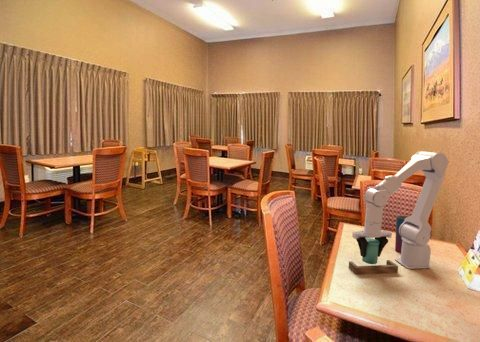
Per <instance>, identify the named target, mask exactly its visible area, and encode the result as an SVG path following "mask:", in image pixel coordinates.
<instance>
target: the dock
mask: <svg viewBox="0 0 480 342" xmlns="http://www.w3.org/2000/svg"><path fill="white" fill-rule="evenodd" d="M385 263H386V264H379V265H378V264H372V265H357V264H356V263H355V262H354V261H353V260H352V261H348V269H349V270H350V271H351V272H352V273H354V275H369V274H370V275H371V274H372V275H373V274H391V273H392V274H395V273H397V274H398V272H399V265H398V264H396V263H394V262H393V261H392V260H390V259H389V260H388V259H387V260H386V262H385Z"/></svg>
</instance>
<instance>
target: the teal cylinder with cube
mask: <svg viewBox="0 0 480 342" xmlns="http://www.w3.org/2000/svg"><path fill="white" fill-rule="evenodd" d="M365 239H366V240H367V241H368V242H369V243H368V245H367V248H366V256H365V257H362V256H361V257H362V259H361V261H362V262H364V263H365V264H369V265H378V258H379V257H378V249H379V244H380V242H379V241H378V240H376V239H375V238H365Z"/></svg>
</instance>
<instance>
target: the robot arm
mask: <svg viewBox="0 0 480 342" xmlns="http://www.w3.org/2000/svg"><path fill="white" fill-rule="evenodd" d="M410 159H411V160H409V161H408V162H407V163H406V164H405V165H404V166H403V167H402V168H401V169H400V170H399V171H397V172H396V173H395V174H394V175H386V176H385V177H384V179H383V180H382V181H380V182H379V183H378V184H376V185H375V186H374V187H370V188H369V189H367V190H366V191H365V193H364V194H363V196H362V197H363V200H364V202H365V218H364V228H363V230H359V231H353V232H352V236H351V237H352V238H353V239H355V240H356V242H357V245H358V247H359V253H360V257H365V256H366V248H367V245H368V243H369V242H368V241H367V240H366V239H365V238H372V239H376V240H378V241H379V242H380V244H379V249H378V258H379V257H381V255H382V252H383V250H384V248H385V247H386V245H388V243H389V239H391V238H393V237H392V236H393V232H391V231H389V230H382V226H383V225H382V224H383V216H384V215H383V214H384V213H383V212H384V206H386V205H387V204H388V201H389V199H390V198H391V196H392V195H393V194H395V193H396V192H397V191H398V190H400V189H401V188H402V185H403V184H402V183H403V182H404V181H406V180H407V179H408V178H410V177H412V176H413V175H415V174H416V173H417V172H418V171H420V172H422V173H423V174H424V177H425V179H424V182H423V185H422V188H421V190H420V192H419V195H418V197H417V201H416V203H415V205H414V209H413V211H412V212H411V215H409V217H407V218H405V220H404V222H403V223H402V224H401V226H400V227H399V234H400V235H401V236H402V238H401V239H402V249H401V253H400V258H398V257H397V258H395V259H394V260H395V261H396V262H398V263H400V264H401V265H402V266H404V267H405V268H407V269H408V270H409V269H410V270H412V269H413V270H414V269H415V270H416V269H417V270H418V269H430V268H431V266H430V261H431V254H432V252H431V247H430V244H428V243H429V242H430V240H431V232H432V229H433V228H432V227H431V225H430V223H429V222H428V220H429V218H430V215H431V214H432V213H431V212H432V210H433V208H434V205H435V203H436V200H437V197H438V195H439V192H440V189H441V188H442V185H443V182H444V179H445V175H446V171H447V168H448V165H449V163H450V161H449V159H448V157H447V155H446V154H445V153H443V152H432V151H425V150H418V151H417V152H416V153H415V154H413V155H412V156H411V158H410ZM388 238H389V239H388Z"/></svg>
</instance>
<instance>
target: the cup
mask: <svg viewBox="0 0 480 342" xmlns="http://www.w3.org/2000/svg"><path fill="white" fill-rule="evenodd" d="M407 217H410V215H409V216H408V215H404V214H403V215H400V214H399V215H396V219H395V224H396V225H395V241H394V243H395V247H394V250H395V252H396V253H399V254H401V249H402V239H401V238H402V236H401V235H400V234H399V227H400V226H401V224H402V223H403V222H404V220H405V218H407Z"/></svg>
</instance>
